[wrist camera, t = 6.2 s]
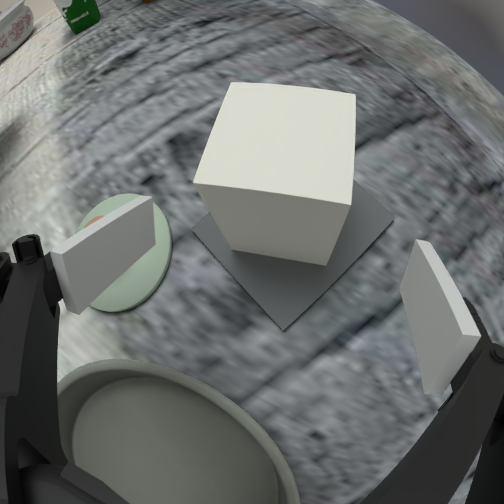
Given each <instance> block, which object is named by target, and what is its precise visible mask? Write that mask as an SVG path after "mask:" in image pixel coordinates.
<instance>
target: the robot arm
mask: <svg viewBox="0 0 504 504" xmlns="http://www.w3.org/2000/svg"><path fill="white" fill-rule="evenodd" d="M155 245H156V240H155V227H154V211H153V197H149V196H139V197H137V198H135V199H134V200H132V201H130V202H128V203H126V204H125V205H123V206H121V207H119V208H118V209H116V210H114V211H112V212H111V213H109V214H107V215H106V216H104V217H102V218H101V219H99V220H97V221H96V222H94V223H92V224H91V225H89V226H87V227H86V228H84V229H83V230H81V231H79V232H78V233H76V234H75V235H73V236H71V237H70V238H68V239H67V240H65V241H64V242H62V243H61V244H59V245H58V246H56V247H55V248H53V249H52V250H50V252H49V253H47V254H46V255H45V256H44V254H43V250H42V246H41V242H40V237H39V236H38V235H35V234H31V235H26V236H23V237H21V238H18V239H17V240H16V241H14V242H13V243H12V247H13V250H14V254H15V258H16V261H17V263H11V259H10V256H9V254H8V253H7V252H1V253H0V504H130V503H128V502H127V501H126V500H125V499H123V498H122V497H121V496H120V495H118V494H117V493H116V492H115V491H113V490H112V489H111V488H110V487H109V486H108V485H106V484H105V483H104V482H103V481H101V480H100V479H98V478H96V477H94V476H93V475H91V474H89V473H88V472H86V471H84V470H83V469H81V468H80V467H78V466H76V465H75V464H73V463H72V462H70V461H69V462H68V460H67V458H66V456H65V454H64V452H63V449H62V446H61V439H60V429H59V416H58V398H57V349H58V330H59V317H60V307H59V304H58V302H59V301H60V300H61V299H62V298H63V300H64V303H65V306H66V309H67V310H69V311H71V312H73V313H76V314H78V315H80V314H81V313H82V312H83V311H84V310H85V309H86V308H87V307H88V306H89V305H90V304H91V303H92V302H93V301H94V300H95V299H96V298H97V297H98V296H99V295H100V294H101V293H102V292H104V291H105V290H106V289H107V288H108V287H109V286H110V285H111V284H112V283H113V282H114V281H115V280H116V279H118V278H119V277H120V276H121V275H122V274H123V273H124V272H125V271H126V270H127V269H129V268H130V267H131V266H132V265H133V264H134V263H135V262H136V261H138V260H139V259H140V258H141V257H142V256H143V255H144V254H145V253H147V252H148V251H149V250H150V249H151V248H152V247H153V246H155ZM399 289H400V293H401V296H402V299H403V303H404V306H405V310H406V314H407V317H408V321H409V325H410V329H411V333H412V337H413V341H414V345H415V350H416V354H417V359H418V363H419V368H420V373H421V378H422V384H423V389H424V394H443V392H444V391H445V390H446V389H447V387H448V386H449V384H450V383H451V387H452V391H453V392H452V393H451V395H450V396H449V397H448V398H447V400H446V401H445V402H444V403H443V405H442V406H441V407H440V408H439V409H438V411H439V412H438V414H437V415H436V416H435V418H434V419H433V421H432V422H431V423H430V425H429V426H428V428H427V429H426V430H425V432H424V433H423V434H422V436H421V437H420V438H419V439H418V441H417V442H416V443H415V444H414V446H413V447H412V448H411V449H410V451H409V452H408V453H407V454H406V455H405V457H404V458H403V459H402V460H401V461H400V462H399V464H398V465H397V466H396V467H395V468H394V469H393V470H392V471H391V472H390V474H389V475H388V476H387V477H386V478H385V479H384V480H383V481H382V482H381V483H380V484H379V485H378V486H377V487H376V488H375V489H374V490H373V491H372V492H371V493H370V494H369V495H368V496H367V497H366V498H365V499H364V500H363V501H362V502H361V503H360V504H448V502H449V501H450V499H451V498H452V496H453V495H454V493H455V492H456V490H457V488H458V487H459V485H460V484H461V482H462V480H463V479H464V477H465V475H466V474H467V472H468V470H469V468H470V466H471V465H472V463H473V461H474V459H475V457H476V455H477V453H478V451H479V449H480V447H481V445H482V448H481V452H480V456H479V460H478V464H477V468H476V471H475V474H474V478H473V481H472V484H471V487H470V490H469V493H468V496H467V499H466V502H465V504H504V348H503V347H502V346H500V345H498V344H496V343H492V342H491V339H490V337H489V335H488V333H487V331H486V329H485V327H484V325H483V323H481V319H480V317H479V316H478V313H477V311H476V310H475V308H474V306H473V305H472V304H471V303H470V302H469V301H468V300H467V299H466V298H464V297H462V296H461V295H460V293H459V291H458V289H457V287H456V285H455V284H454V282H453V280H452V278H451V277H450V275H449V273H448V271H447V270H446V268H445V266H444V265H443V263H442V261H441V260H440V258H439V256H438V255H437V253H436V252H435V250H434V248H433V247H432V245H431V244H430V242H426V241H422V240H417V239H416V240H415V243H414V246H413V250H412V253H411V256H410V259H409V262H408V265H407V268H406V271H405V274H404V277H403V280H402V282H401V285H400V288H399ZM482 443H483V444H482Z"/></svg>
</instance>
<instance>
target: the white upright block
mask: <svg viewBox="0 0 504 504" xmlns="http://www.w3.org/2000/svg"><path fill="white" fill-rule="evenodd" d="M355 115H356V95H354V94H349V93H343V92H337V91H330V90H323V89H316V88H308V87H299V86H288V85H276V84H261V83H235V82H231V84H230V87H229V89H228V92H227V94H226V96H225V99H224V101H223V104H222V106H221V109H220V111H219V114H218V116H217V119H216V121H215V124H214V126H213V129H212V132H211V134H210V137H209V140H208V142H207V145H206V148H205V150H204V153H203V156H202V159H201V161H200V164H199V167H198V170H197V173H196V176H195V178H194V181H193V184H194V185H195V187H196V189H197V191H198V192H199V194H200V196H201V198H202V199H203V201H204V203H205V205H206V206H207V208H208V210H209V212H210V213H211V215H212V217H213V218H214V220H215V222H216V224H217V225H218V227H219V229H220V231H221V232H222V234H223V236H224V237H225V239H226V241H227V243H228V244H229V246H230V248H231V249H232V250H237V251H243V252H249V253H255V254H260V255H266V256H272V257H278V258H284V259H289V260H295V261H301V262H307V263H313V264H318V265H324V266H326V265H327V263H328V260H329V258H330V256H331V253H332V251H333V249H334V246H335V244H336V241H337V239H338V237H339V234H340V232H341V229H342V227H343V224H344V222H345V219H346V217H347V214H348V212H349V209H350V207H351V200H352V187H353V171H354V152H355Z"/></svg>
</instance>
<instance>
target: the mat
mask: <svg viewBox="0 0 504 504" xmlns="http://www.w3.org/2000/svg"><path fill="white" fill-rule="evenodd" d="M394 218H395V216H394V215H392V214H391V213H390V212H389V211H388V210H387V209H386V208H385V207H384V206H383V205H382V204H381V203H379V202H378V201H377V200H376V199H375V198H374V197H373V196H372V195H370V194H369V193H368V192H367V191H366V190H365V189H364V188H362V187H361V186H360V185H359V184H358V183H357V182H355V181H354V180H353V187H352V200H351V207H350V209H349V212H348V214H347V217H346V219H345V222H344V224H343V227H342V229H341V232H340V234H339V237H338V239H337V241H336V244H335V246H334V249H333V251H332V253H331V256H330V258H329V260H328V263H327V265H326V266H324V265H318V264H313V263H307V262H301V261H295V260H289V259H284V258H278V257H272V256H266V255H260V254H255V253H249V252H243V251H237V250H232V249H231V248H230V246H229V244H228V243H227V241H226V239H225V237H224V236H223V234H222V232H221V231H220V229H219V227H218V225H217V224H216V222H215V220H214V218H213V217H212V215H211V213H210V212H209V213H208V214H207V215H206V216H205V217H203V218H202V219H201V220H200V221H199V222H198V223H196V224H195V225H194V226H193V227H192V228H191V230H192V231H193V232H194V233H195V234H196V235H197V236H198V238H199V239H200V240H201V241H202V242H203V243H204V244H205V246H206V247H207V248H208V249H209V250H210V251H211V252H212V253H213V255H214V256H215V257H216V258H217V259H218V260H219V261H220V262H221V264H222V265H223V266H224V267H225V268H226V269H227V270H228V271H229V272H230V274H231V275H232V276H233V277H234V278H235V279H236V280H237V281H238V282H239V283H240V285H241V286H242V287H243V288H244V289H245V290H246V291H247V292H248V293H249V294H250V296H251V297H252V298H253V299H254V300H255V301H256V302H257V303H258V304H259V305H260V306H261V308H262V309H263V310H264V311H265V312H266V313H267V314H268V315H269V316H270V317H271V318H272V319H273V320H274V322H275V323H276V324H277V325H278V326H279V327H280V328H281V329H282V330H283V331H284V330H285V329H286V328H287V327H288V326H289V325H290V324H291V323H293V322H294V321H295V320H296V319H297V318H298V317H299V316H300V315H301V314H302V313H303V312H304V311H305V310H306V309H307V308H309V307H310V306H311V305H312V304H313V303H314V302H315V301H316V300H317V299H318V298H319V297H320V296H321V295H322V294H323V293H324V292H325V291H326V290H327V289H328V288H329V287H330V286H331V285H332V284H333V283H334V282H335V281H336V280H337V279H338V278H339V277H340V276H341V275H342V274H343V273H344V272H345V271H346V270H347V269H348V268H349V267H350V266H351V265H352V264H353V263H354V262H355V261H356V260H357V259H358V258H359V257H360V256H361V255H362V253H363V252H364V251H365V250H366V249H367V248H368V247H369V246H370V245H371V244H372V243H373V242H374V241H375V240H376V239H377V237H378V236H379V235H380V234H381V233H382V232H383V231H384V230H385V229H386V228H387V226H388V225H389V224H390V223H391V222H392V221H393V220H394Z"/></svg>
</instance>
